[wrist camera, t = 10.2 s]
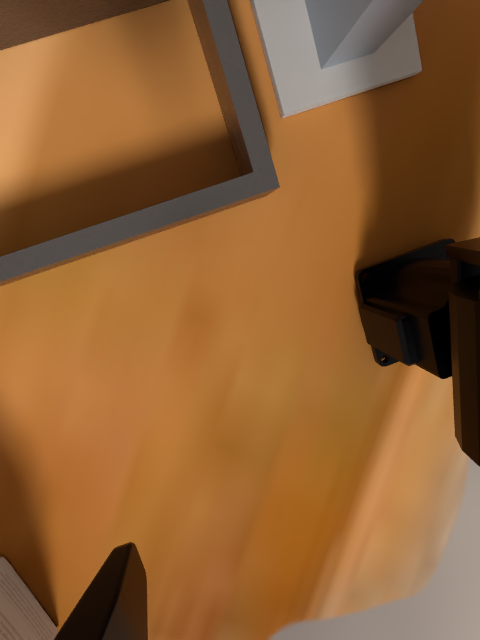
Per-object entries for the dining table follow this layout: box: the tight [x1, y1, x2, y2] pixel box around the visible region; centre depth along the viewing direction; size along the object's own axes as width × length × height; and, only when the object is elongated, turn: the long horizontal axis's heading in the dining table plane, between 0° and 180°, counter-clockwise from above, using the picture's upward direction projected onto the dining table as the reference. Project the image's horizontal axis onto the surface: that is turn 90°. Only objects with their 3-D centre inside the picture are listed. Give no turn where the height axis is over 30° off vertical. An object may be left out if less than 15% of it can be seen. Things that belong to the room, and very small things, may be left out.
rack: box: [0, 0, 280, 286], centre depth 15 cm, size 18×18×3 cm
